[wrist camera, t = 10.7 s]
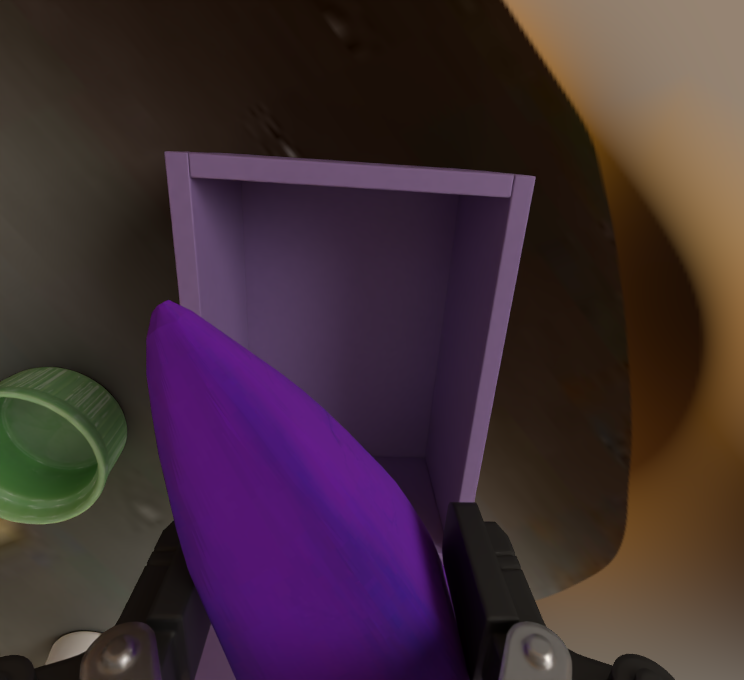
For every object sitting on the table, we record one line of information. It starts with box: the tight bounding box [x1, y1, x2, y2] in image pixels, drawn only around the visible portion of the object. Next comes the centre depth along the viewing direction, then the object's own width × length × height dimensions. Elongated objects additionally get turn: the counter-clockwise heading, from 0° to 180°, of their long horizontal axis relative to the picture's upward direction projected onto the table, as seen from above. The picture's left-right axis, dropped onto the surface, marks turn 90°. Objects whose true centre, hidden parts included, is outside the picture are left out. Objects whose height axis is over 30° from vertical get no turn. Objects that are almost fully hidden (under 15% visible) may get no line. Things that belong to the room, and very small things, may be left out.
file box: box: [164, 151, 535, 564], centre depth 23 cm, size 19×13×9 cm
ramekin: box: [0, 367, 127, 524], centre depth 27 cm, size 9×9×4 cm
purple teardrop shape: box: [146, 300, 469, 680], centre depth 11 cm, size 5×5×15 cm
